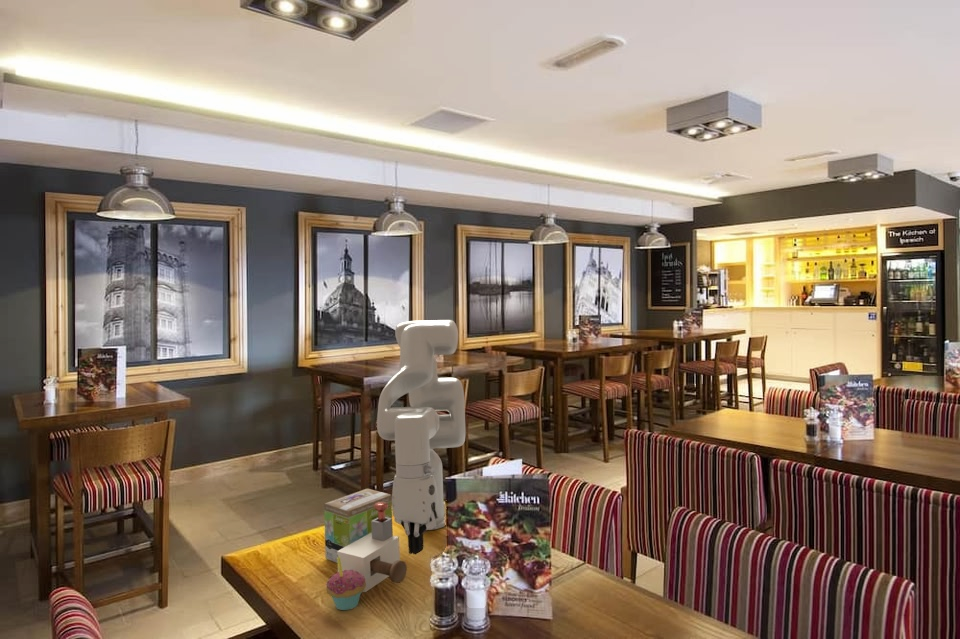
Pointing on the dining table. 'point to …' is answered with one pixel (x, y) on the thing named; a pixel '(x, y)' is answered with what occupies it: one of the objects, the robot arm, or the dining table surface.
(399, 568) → the pin
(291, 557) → the dining table surface
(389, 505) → the tea box
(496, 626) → the dining table surface
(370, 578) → the block
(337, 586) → the cupcake
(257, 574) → the dining table surface
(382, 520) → the plunger
